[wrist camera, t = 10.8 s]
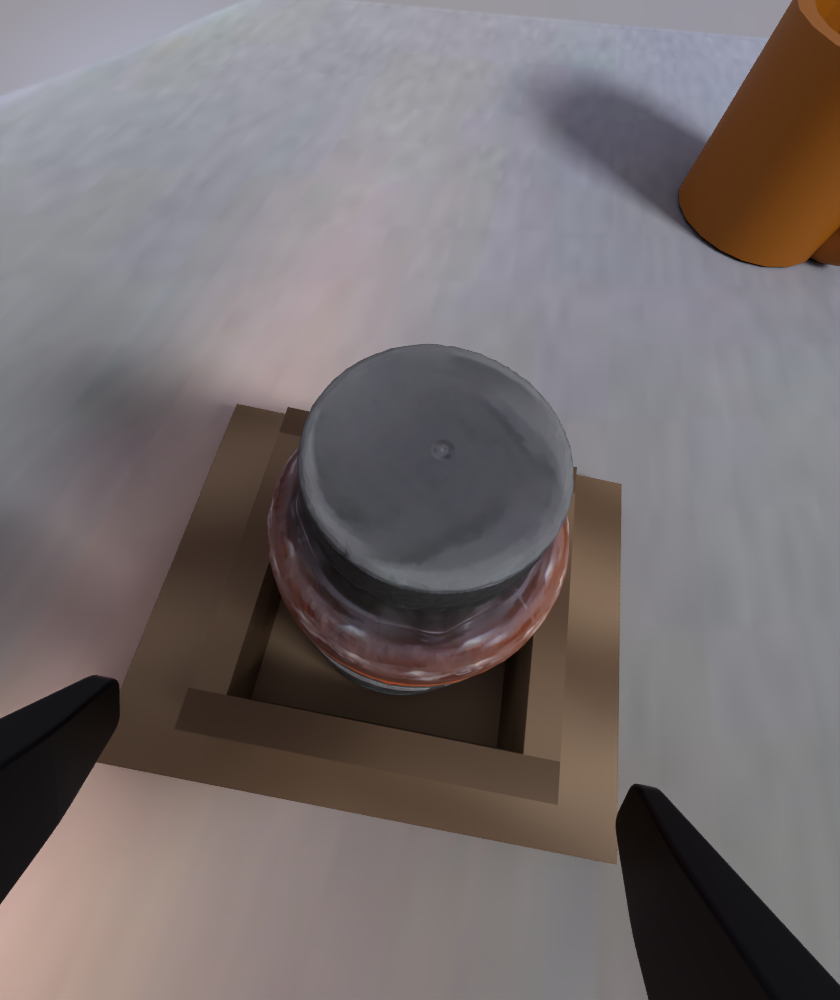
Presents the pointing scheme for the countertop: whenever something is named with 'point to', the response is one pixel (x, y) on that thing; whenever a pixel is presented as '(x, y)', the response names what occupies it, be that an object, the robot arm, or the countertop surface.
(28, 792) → the robot arm
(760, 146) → the mug
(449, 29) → the countertop surface
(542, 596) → the supplement bottle
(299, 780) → the bottle stand
